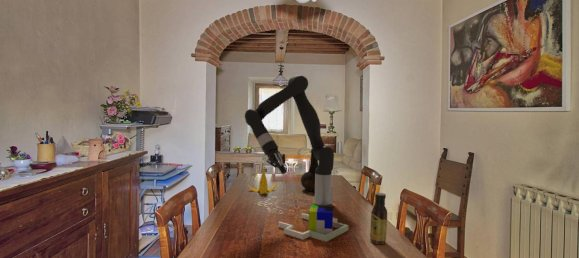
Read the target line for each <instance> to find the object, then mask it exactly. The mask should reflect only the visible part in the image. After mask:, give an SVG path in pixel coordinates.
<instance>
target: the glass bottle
mask: <svg viewBox="0 0 579 258" xmlns="http://www.w3.org/2000/svg"><path fill="white" fill-rule="evenodd" d="M309 153H310V165H309V170H308V171H307V172H304V173H303V174H301V177H300V183H301V185H302V187H303V188H304V189H305V190H306V191H311V192H315V170H316V168H318V166H319V161H318V160H317V159H316V158H315V157H314V154H313V150H312V148H310V151H309Z"/></svg>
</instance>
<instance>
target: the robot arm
mask: <svg viewBox="0 0 579 258" xmlns="http://www.w3.org/2000/svg"><path fill="white" fill-rule="evenodd" d="M308 87H309V81H308V78H307V77H306V76H305V75H300V74H298V75H295V76H292V77H290V78H289V79H288V82H287V85H286V86H285V87H283V88H282V89H281V90H279V91H277V92H276V93H273V94H272V95H270V96H269V97H267V98H266V99H264V100H263V101H262V102H260V103H259V104H258V106H257V107H256V108H255V109H253V108H249V109H247V110H246V111H245V113H244V118H245V123H246V125H248V126H250V128H251V130H252V133H253V135H254V137H255V139H256V141H257V142H258V145H259V147H260V149H261V150H262V151H263V154H264V155H265V156H267V159H266V160H265V162H266V163H268V164H269V165H271V167H273V168H277V169H278V170H279V171H280V173H281V174H282V175H284V174H286V173H287V172H288V171H287V169H286V167H285V164H286V154H285V153H281V152H280V151H279V146H278V144H277V142H276V141H275V139H274V138H273V136H272V135H271V134H270V132H269V130H268V129H267V128H266V126H265V125H264V122H263V120H264V119H265V117H266V116H268V115H269V114H271V113H272V112H274V110H276V109H277V108H279V107H280V106H281V105H283V104H284V103H285V102H286V101H288V100H290V99H291V98H293V100H294V102H295V104H296V107H297V110H298V114H299V117H300V119H301V122H302V124H303V126H304V129H305V131H306V134H307V138H308V140H309V142H310V146H311V149H312V150H313V154H314V157H315V158H316V159H317V160H318V168H316V170H315V191H314V203H313V204H314V205H317V206H331V205H332V204H333V186H332V173H333V170H334V164H335V163H334V160H335V159H334V158H335V153H334V150H333V148H332V147H331V146H328V145H326V144H324V140H323V139H322V135H321V121H320V119H319V115H318V112H317V111H316V109H315V108H314V106H313V105H312V104H311V103H312V102H310V100H309V99H308V97H307V93H306V90H307V89H308Z"/></svg>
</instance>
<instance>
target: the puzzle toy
mask: <svg viewBox="0 0 579 258" xmlns="http://www.w3.org/2000/svg"><path fill="white" fill-rule="evenodd" d="M308 215H309V220H308V224H307V225H308V228H307V231H308V230H310V231H313V232H317V233H320V234H323V235H326V234H328V233H330V232H332V231H334V230H333V228H334V227H333V218H334V206H331V205H326V206H323V205H317V204H310V207H309V210H308Z"/></svg>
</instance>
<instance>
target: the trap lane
mask: <svg viewBox="0 0 579 258" xmlns="http://www.w3.org/2000/svg"><path fill="white" fill-rule="evenodd" d="M300 216H301V218H300V219H304V220H307V221H309V213H301V215H300ZM278 228H281V229H283V234H284V235H288V236H290V237H293V238H297V239H300V240H303V241H304V240H306V239H307V238H313V239H315V240H319V241H322V242H326V243H327V242H328V241H330V240H333V239H335V238H337V237H339V236H340V235H342V234H343V233H345V232H347V231H349V224H345V223H341V222H338V218H336V217H333V228H336V229H335V230H332V232H330V233H328V234H326V235H323V234H320V233H317V232H313V231H310V230H308V229H307V230H306V231H304V232H301V231H298V230H295V225H293V224H289V223H286V222H283V221H278Z"/></svg>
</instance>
